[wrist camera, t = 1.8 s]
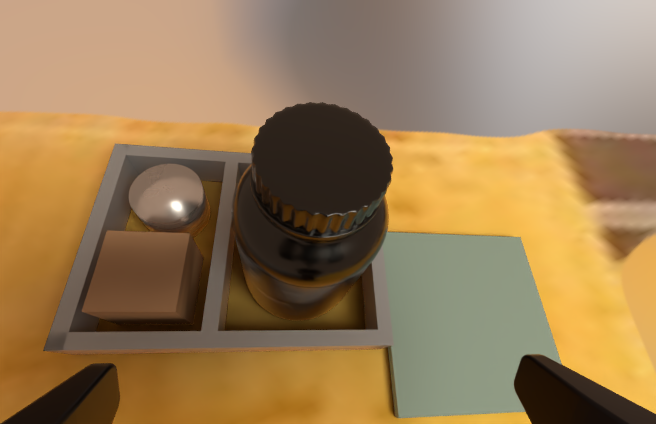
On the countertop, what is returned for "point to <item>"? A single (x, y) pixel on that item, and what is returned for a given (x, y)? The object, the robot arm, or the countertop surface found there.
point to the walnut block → (145, 279)
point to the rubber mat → (460, 322)
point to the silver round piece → (170, 200)
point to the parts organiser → (112, 214)
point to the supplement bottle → (311, 208)
